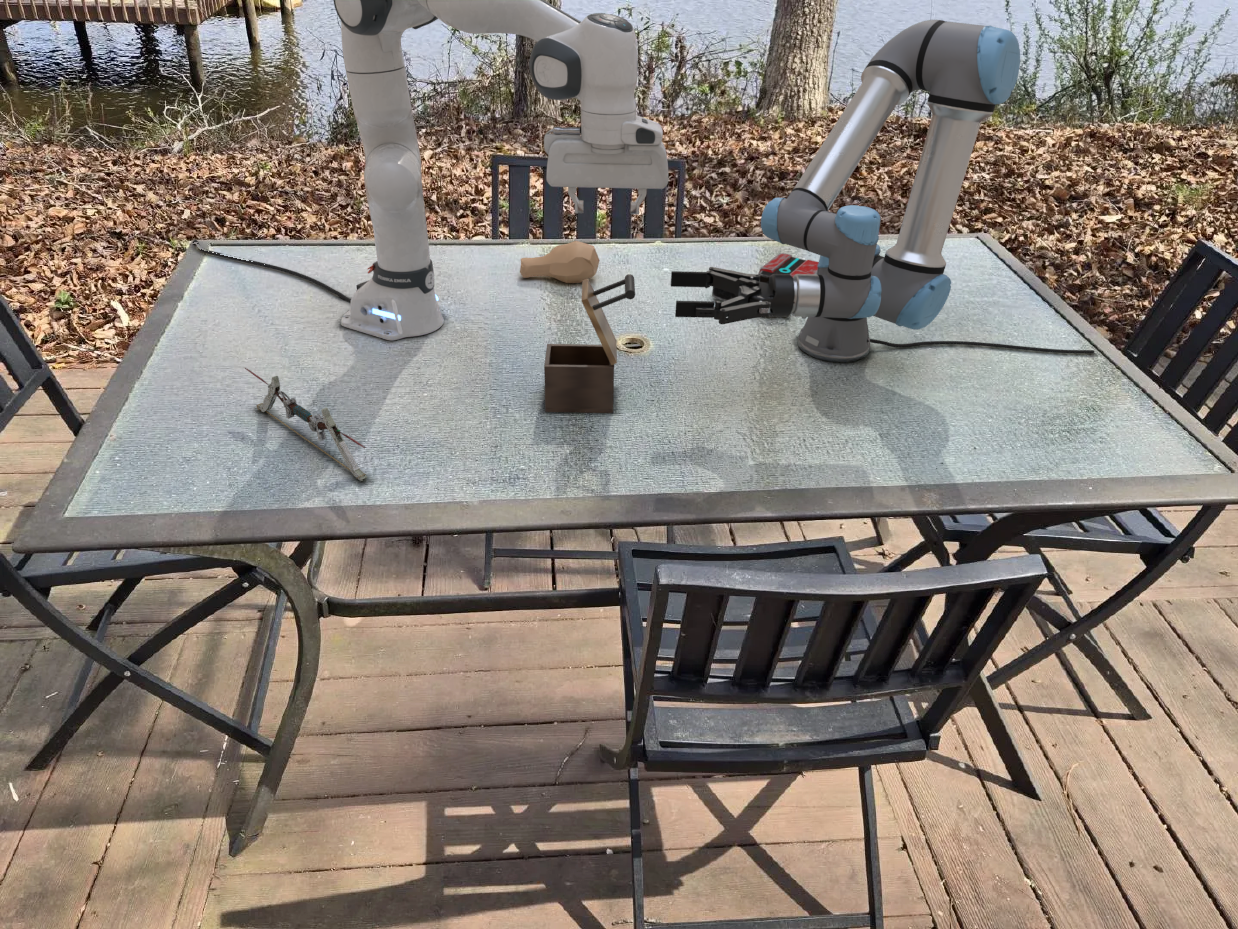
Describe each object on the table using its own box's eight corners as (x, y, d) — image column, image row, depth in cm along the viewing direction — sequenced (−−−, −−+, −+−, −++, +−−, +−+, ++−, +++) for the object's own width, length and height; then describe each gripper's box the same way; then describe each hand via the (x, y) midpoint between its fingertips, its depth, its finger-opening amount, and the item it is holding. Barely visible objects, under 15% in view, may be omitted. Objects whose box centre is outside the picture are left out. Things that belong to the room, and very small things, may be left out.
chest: (545, 412, 165) (544, 366, 159) (548, 388, 173) (547, 343, 167) (613, 413, 165) (614, 367, 160) (612, 389, 173) (613, 344, 168)
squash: (601, 287, 216) (596, 255, 210) (521, 294, 218) (514, 262, 211) (602, 264, 224) (597, 232, 218) (524, 271, 225) (518, 240, 219)
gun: (708, 284, 207) (784, 305, 199) (760, 245, 229) (831, 262, 221) (706, 302, 209) (781, 323, 201) (758, 261, 231) (828, 278, 223)
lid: (581, 300, 152) (629, 281, 151) (582, 280, 160) (628, 261, 158) (611, 365, 160) (657, 348, 158) (611, 342, 167) (655, 326, 165)
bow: (377, 484, 144) (369, 432, 138) (368, 488, 143) (359, 436, 137) (258, 401, 165) (247, 353, 160) (249, 404, 164) (237, 356, 158)
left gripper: (542, 131, 138) (544, 217, 146) (671, 133, 139) (667, 220, 146) (544, 121, 143) (546, 205, 151) (669, 124, 144) (665, 208, 151)
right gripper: (801, 345, 149) (676, 343, 149) (777, 288, 170) (668, 286, 169) (807, 304, 145) (679, 301, 144) (782, 250, 166) (670, 248, 165)
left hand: (606, 212), depth 149 cm, fingers open, 8 cm apart
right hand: (673, 293), depth 157 cm, fingers open, 13 cm apart
